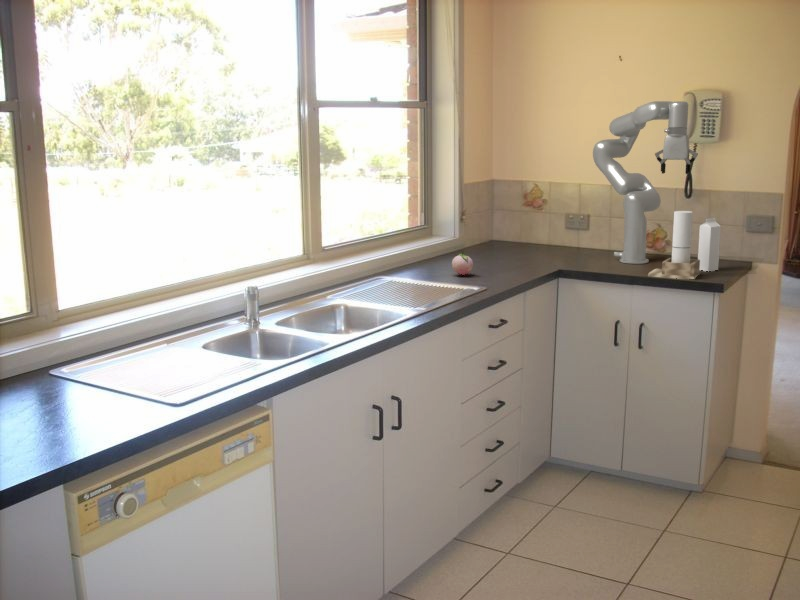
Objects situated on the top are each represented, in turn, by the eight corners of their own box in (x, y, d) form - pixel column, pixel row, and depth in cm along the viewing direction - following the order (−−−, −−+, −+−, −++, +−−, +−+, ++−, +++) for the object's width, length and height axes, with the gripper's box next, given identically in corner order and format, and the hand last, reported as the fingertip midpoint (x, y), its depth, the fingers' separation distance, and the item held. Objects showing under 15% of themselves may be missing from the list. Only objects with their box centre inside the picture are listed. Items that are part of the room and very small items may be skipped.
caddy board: (648, 276, 350) (648, 261, 349) (655, 271, 361) (656, 256, 360) (693, 279, 342) (694, 264, 340) (699, 274, 353) (700, 259, 351)
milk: (718, 270, 361) (722, 218, 356) (708, 272, 358) (711, 219, 353) (706, 268, 366) (710, 217, 361) (696, 269, 363) (700, 218, 359)
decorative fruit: (448, 275, 359) (448, 251, 357) (465, 273, 362) (465, 250, 360) (458, 278, 351) (458, 254, 349) (476, 277, 354) (476, 253, 352)
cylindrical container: (690, 272, 352) (693, 211, 347) (688, 275, 346) (691, 213, 340) (672, 270, 355) (675, 210, 350) (669, 273, 349) (673, 212, 343)
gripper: (654, 132, 356) (652, 173, 360) (697, 132, 348) (694, 174, 352) (658, 131, 363) (656, 172, 366) (700, 131, 355) (698, 173, 358)
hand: (675, 173), depth 359 cm, fingers open, 9 cm apart
